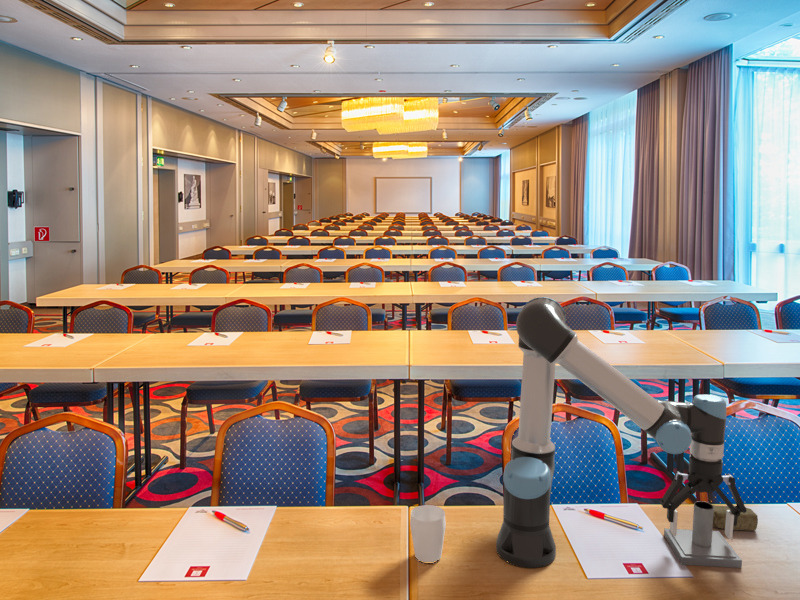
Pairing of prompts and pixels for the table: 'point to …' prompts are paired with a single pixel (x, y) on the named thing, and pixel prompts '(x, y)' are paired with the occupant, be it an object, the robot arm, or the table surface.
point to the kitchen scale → (702, 550)
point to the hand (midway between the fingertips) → (700, 534)
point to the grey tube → (702, 524)
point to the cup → (428, 532)
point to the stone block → (744, 521)
